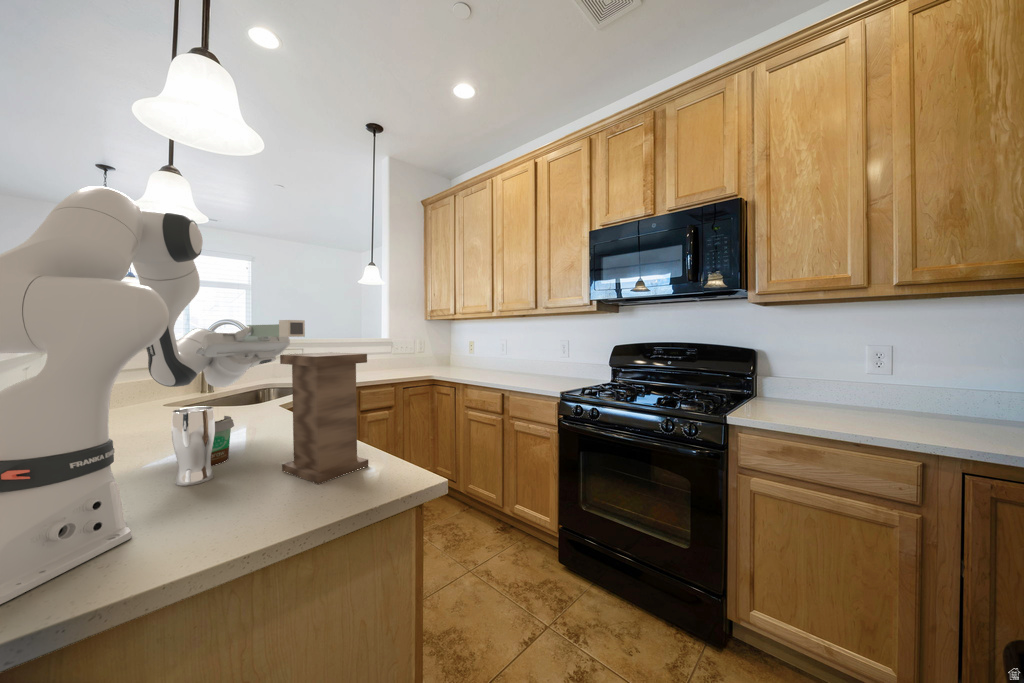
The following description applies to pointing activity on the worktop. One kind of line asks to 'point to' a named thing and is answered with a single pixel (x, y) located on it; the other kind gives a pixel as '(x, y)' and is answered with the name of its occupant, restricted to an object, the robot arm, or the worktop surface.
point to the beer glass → (193, 443)
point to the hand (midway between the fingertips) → (259, 329)
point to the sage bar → (280, 329)
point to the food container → (221, 440)
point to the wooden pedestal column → (324, 415)
